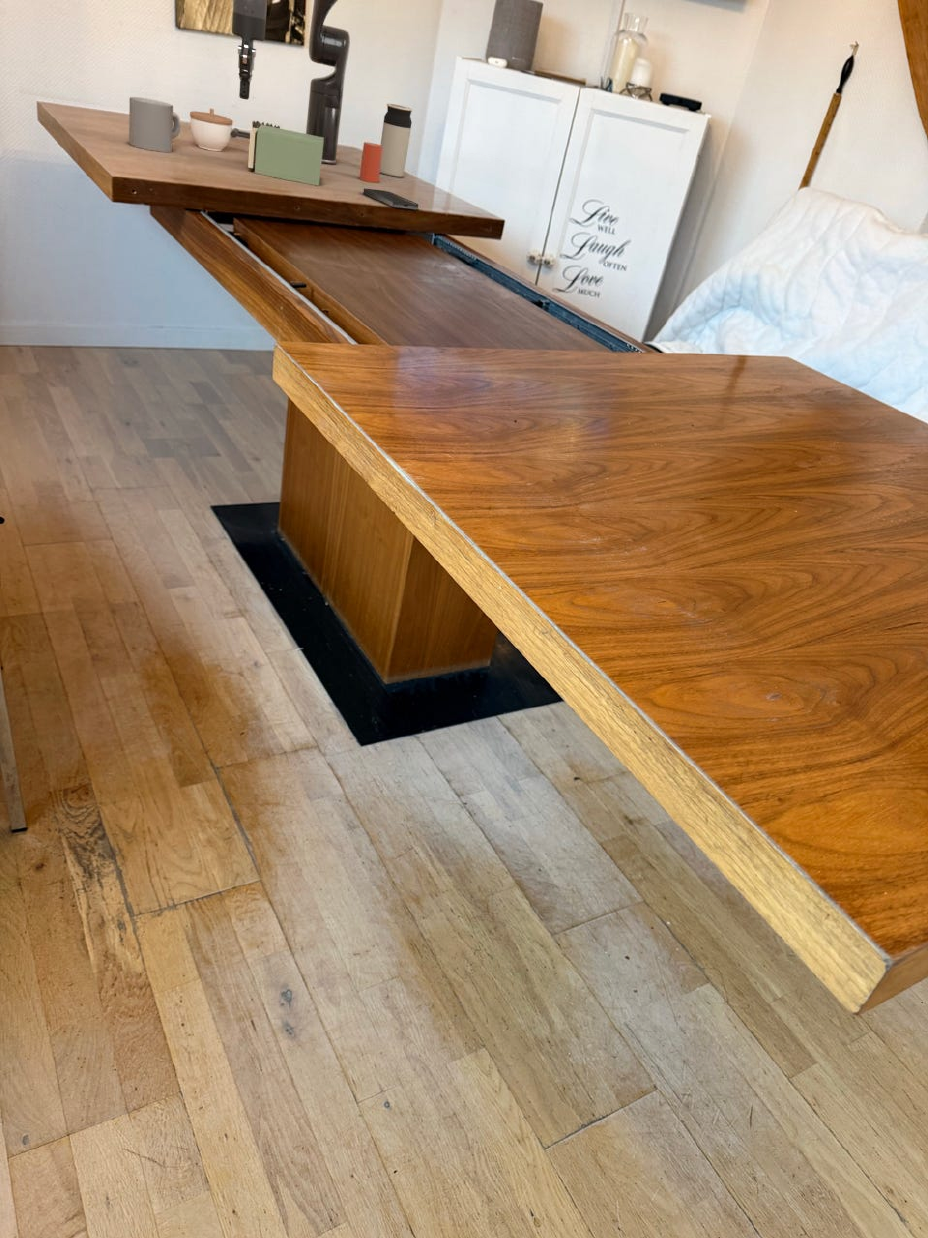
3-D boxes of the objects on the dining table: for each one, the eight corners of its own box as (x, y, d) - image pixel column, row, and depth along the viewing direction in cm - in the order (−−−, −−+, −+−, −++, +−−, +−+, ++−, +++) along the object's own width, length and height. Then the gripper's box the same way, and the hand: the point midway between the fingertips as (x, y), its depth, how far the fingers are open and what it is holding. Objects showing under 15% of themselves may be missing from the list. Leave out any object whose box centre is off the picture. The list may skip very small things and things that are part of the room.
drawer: (227, 163, 222) (229, 127, 218) (231, 157, 232) (234, 123, 228) (307, 179, 226) (311, 144, 222) (308, 172, 236) (312, 139, 232)
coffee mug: (141, 149, 220) (142, 102, 215) (121, 140, 225) (122, 94, 220) (192, 154, 229) (193, 109, 223) (171, 145, 234) (173, 101, 229)
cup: (274, 160, 249) (277, 127, 245) (247, 154, 249) (249, 121, 244) (279, 157, 256) (282, 125, 251) (253, 151, 255) (255, 119, 251)
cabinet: (254, 173, 224) (257, 129, 219) (257, 166, 234) (260, 124, 229) (318, 185, 227) (323, 142, 222) (319, 178, 237) (323, 137, 232)
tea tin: (357, 176, 253) (361, 140, 249) (374, 179, 255) (379, 144, 251) (362, 180, 249) (367, 144, 245) (380, 183, 252) (385, 147, 247)
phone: (388, 190, 234) (420, 204, 225) (387, 195, 235) (419, 209, 225) (361, 187, 229) (393, 201, 220) (361, 192, 230) (392, 206, 221)
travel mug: (378, 173, 268) (388, 104, 258) (375, 169, 274) (384, 101, 265) (405, 178, 270) (415, 110, 260) (401, 174, 276) (411, 107, 267)
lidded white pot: (235, 151, 248) (238, 112, 243) (223, 154, 239) (225, 114, 234) (197, 142, 248) (198, 103, 243) (182, 145, 239) (184, 104, 234)
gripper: (264, 17, 207) (258, 104, 215) (267, 17, 218) (261, 99, 227) (230, 9, 205) (225, 97, 214) (235, 10, 216) (230, 93, 225)
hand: (244, 98), depth 220 cm, fingers closed
